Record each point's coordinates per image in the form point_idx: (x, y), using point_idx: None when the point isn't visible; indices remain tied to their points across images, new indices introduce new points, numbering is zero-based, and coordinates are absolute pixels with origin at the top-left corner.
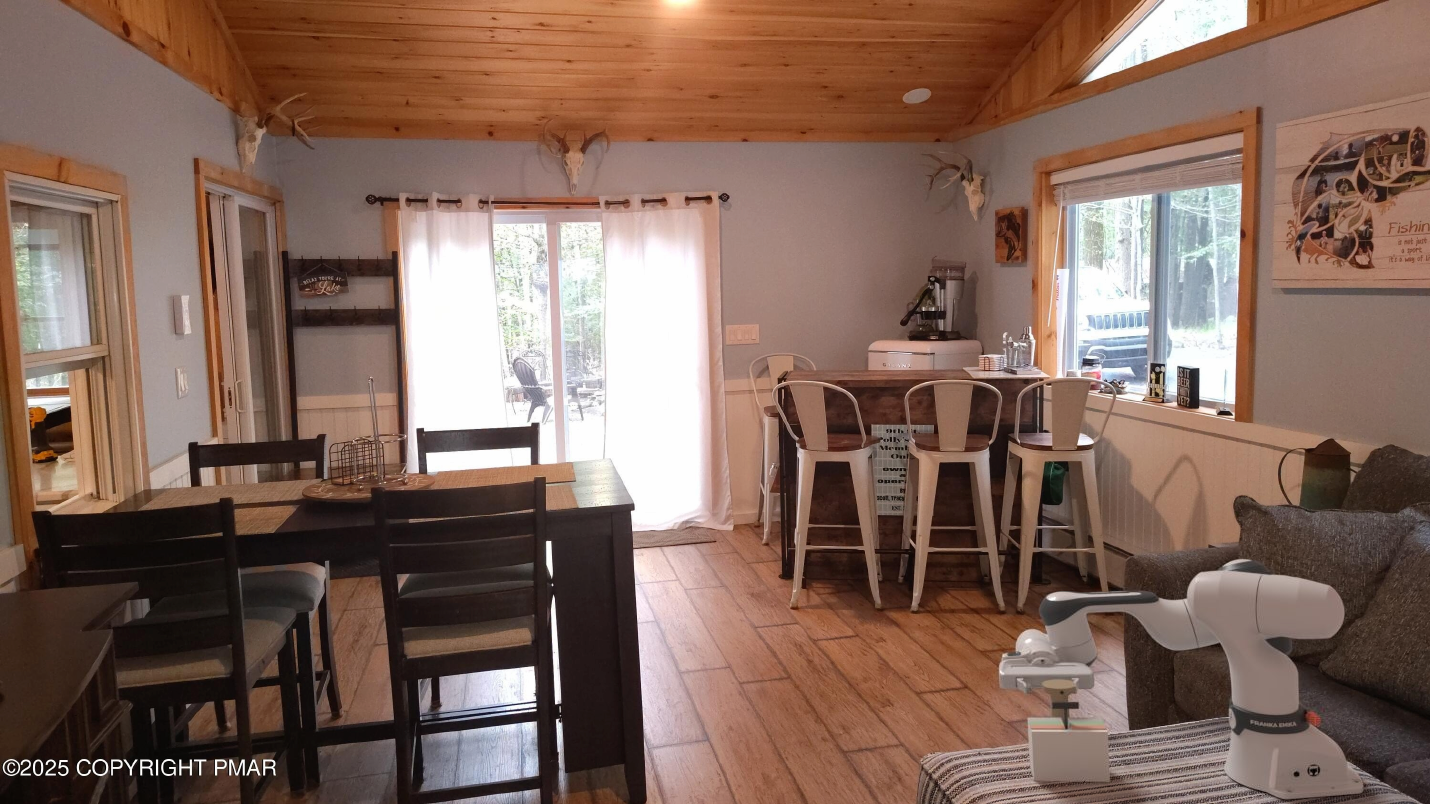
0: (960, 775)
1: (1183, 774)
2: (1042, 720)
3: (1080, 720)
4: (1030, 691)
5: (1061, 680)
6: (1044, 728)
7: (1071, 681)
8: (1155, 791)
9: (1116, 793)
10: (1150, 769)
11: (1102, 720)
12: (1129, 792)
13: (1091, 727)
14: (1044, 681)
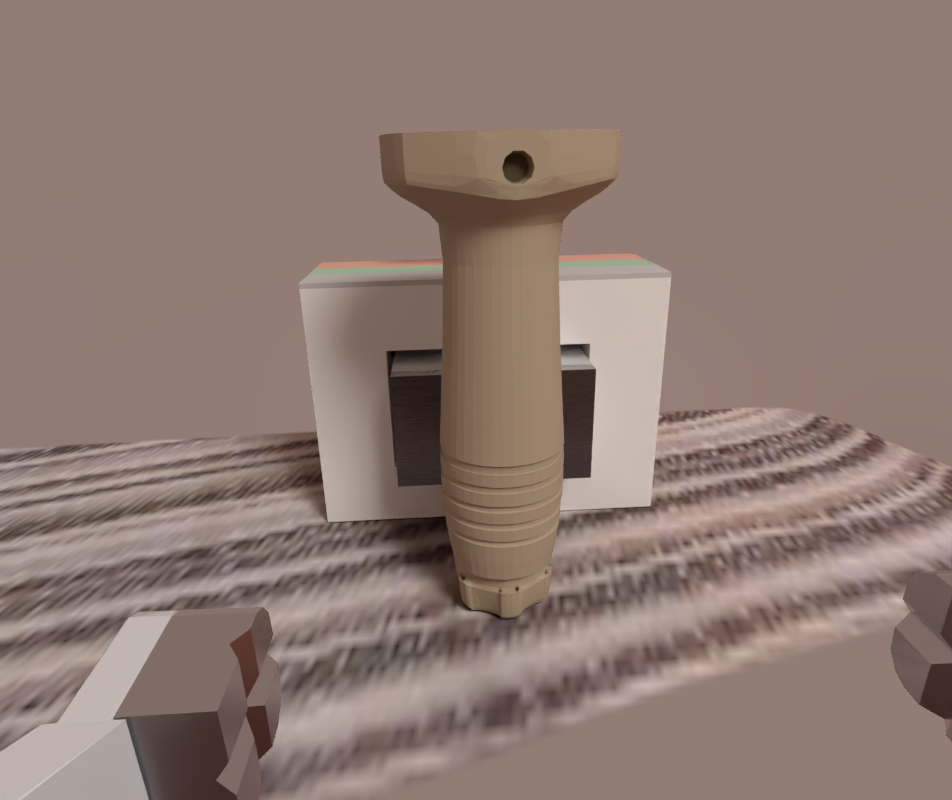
0: (891, 452)
1: (21, 508)
2: (593, 268)
3: (412, 273)
4: (910, 630)
5: (472, 132)
6: (578, 255)
7: (395, 134)
8: (221, 439)
9: None
10: (126, 525)
11: (306, 277)
12: (308, 432)
13: (382, 262)
14: (607, 129)
